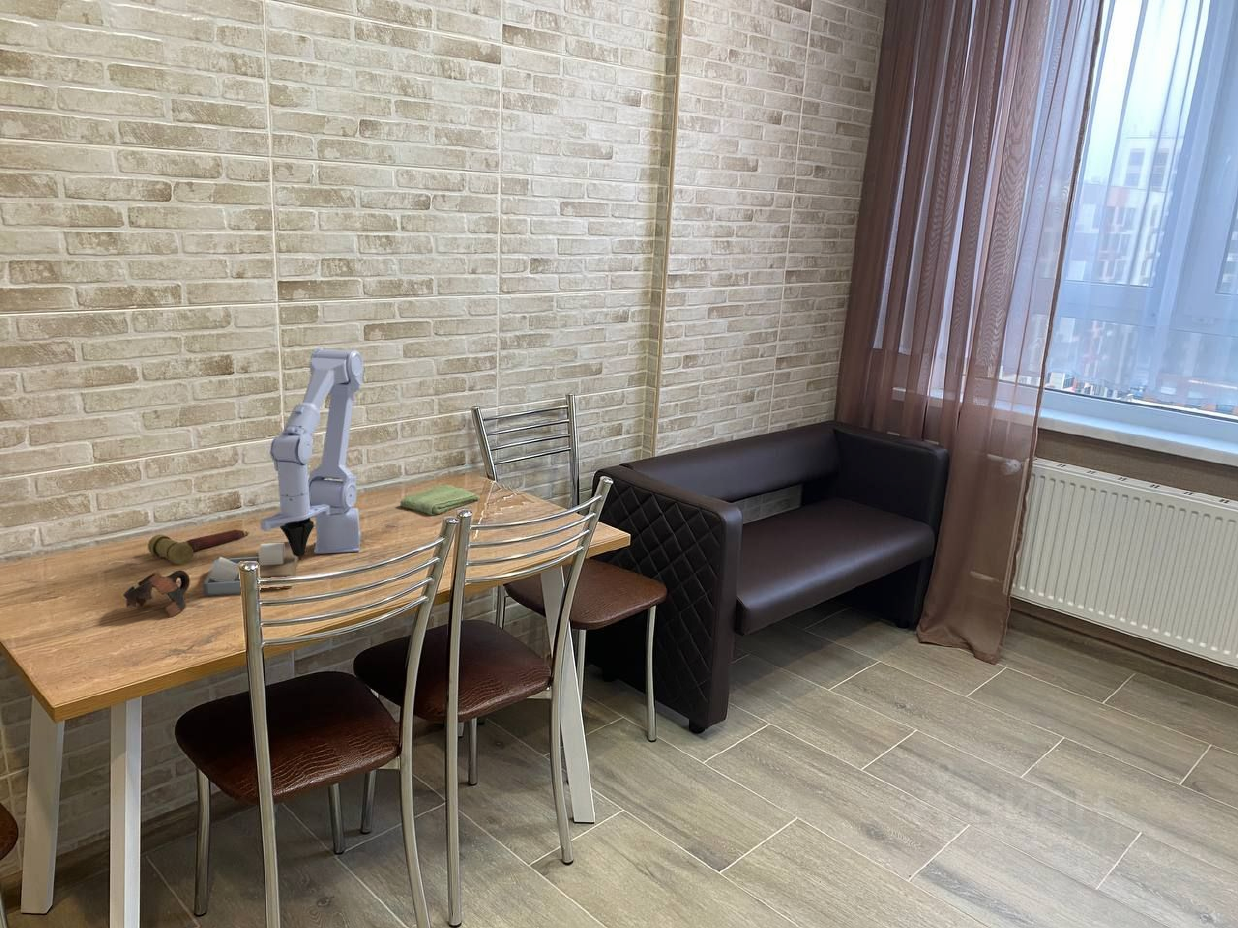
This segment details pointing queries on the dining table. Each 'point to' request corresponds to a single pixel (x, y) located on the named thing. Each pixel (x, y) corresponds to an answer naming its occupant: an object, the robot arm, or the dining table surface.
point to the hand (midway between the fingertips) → (298, 554)
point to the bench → (280, 567)
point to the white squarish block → (224, 571)
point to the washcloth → (438, 499)
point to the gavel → (189, 545)
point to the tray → (224, 587)
